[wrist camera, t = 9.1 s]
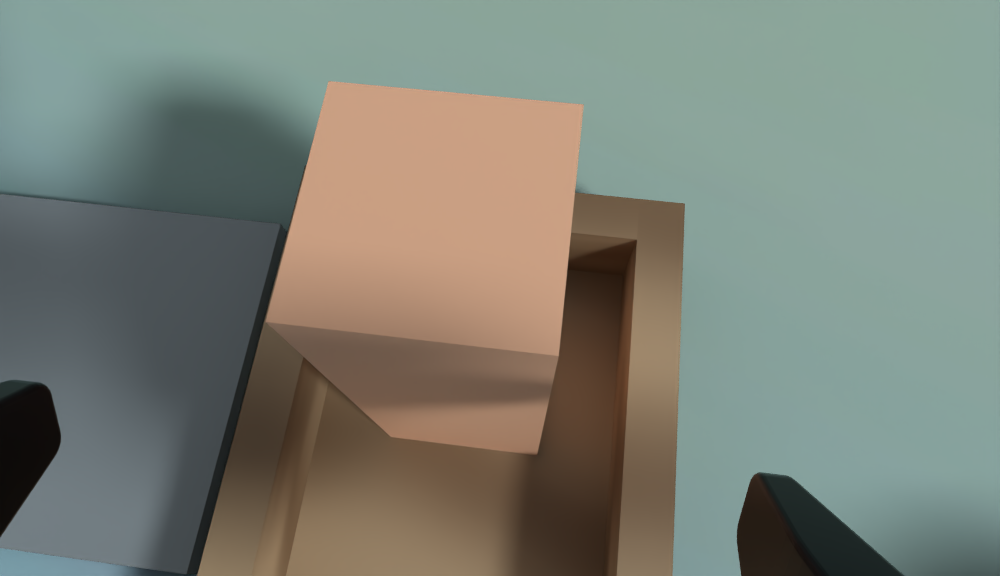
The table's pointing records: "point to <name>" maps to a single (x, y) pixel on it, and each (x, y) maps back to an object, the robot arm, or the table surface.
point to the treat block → (434, 259)
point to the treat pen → (475, 471)
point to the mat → (130, 369)
